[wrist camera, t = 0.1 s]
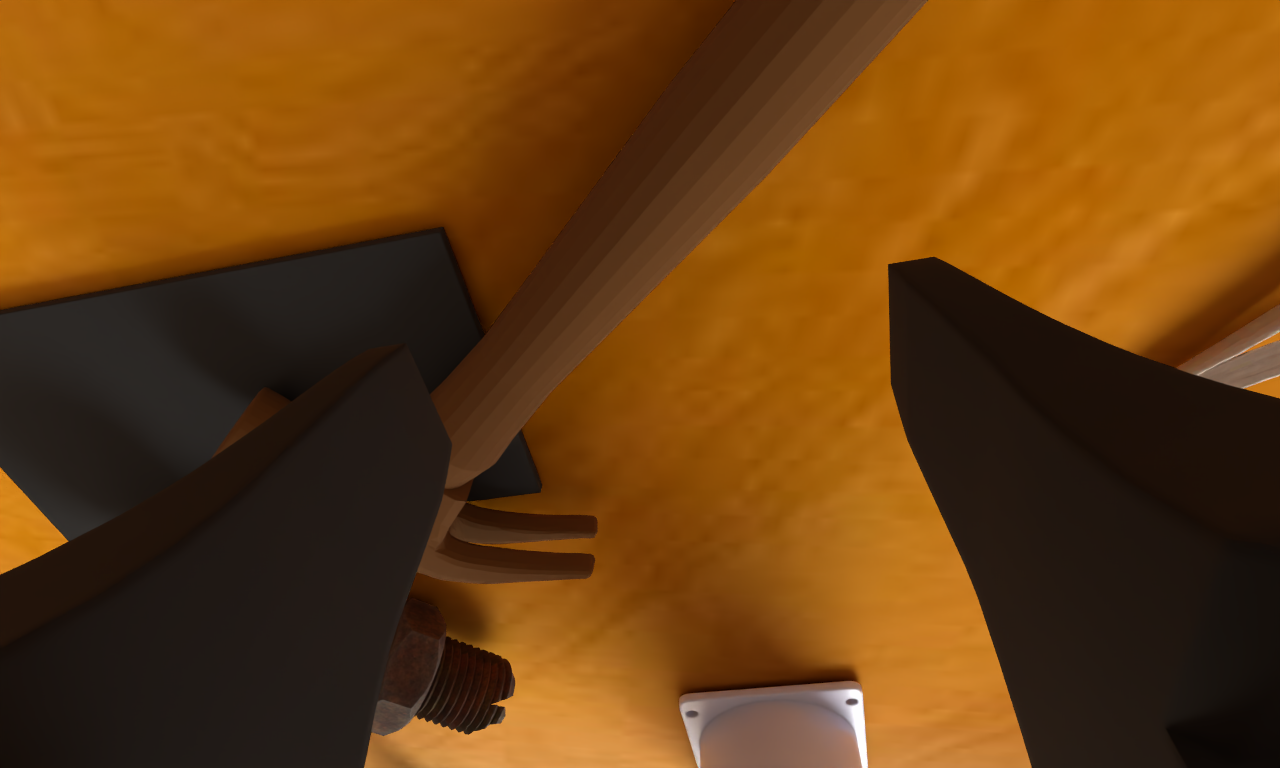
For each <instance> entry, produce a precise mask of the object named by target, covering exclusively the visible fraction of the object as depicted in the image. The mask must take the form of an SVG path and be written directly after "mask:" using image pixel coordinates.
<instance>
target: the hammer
mask: <svg viewBox="0 0 1280 768" xmlns="http://www.w3.org/2000/svg"><path fill="white" fill-rule="evenodd" d="M927 1H928V0H736V2H735V3H734V4H733V5H732V7H731V8H730V9H729V10H728V12H727V13H726V14H725V15H724V17H723V18H722V19H721V20H720V22H719V23H718V24H717V25H716V27H715V28H714V29H713V30H712V32H711V33H710V34H709V35H708V37H707V38H706V39H705V40H704V42H703V43H702V44H701V45H700V47H699V48H698V49H697V50H696V52H695V53H694V54H693V55H692V57H691V58H690V59H689V60H688V62H687V63H686V64H685V65H684V67H683V68H682V69H681V70H680V72H679V73H678V74H677V75H676V77H675V78H674V79H673V80H672V82H671V83H670V84H669V86H668V87H667V88H666V90H665V91H664V92H663V94H662V95H661V97H660V98H659V99H658V101H657V102H656V103H655V105H654V106H653V107H652V109H651V110H650V112H649V113H648V114H647V116H646V117H645V118H644V120H643V121H642V122H641V124H640V125H639V127H638V128H637V129H636V131H635V132H634V133H633V135H632V136H631V137H630V139H629V140H628V142H627V143H626V144H625V146H624V147H623V148H622V150H621V151H620V152H619V154H618V155H617V156H616V158H615V159H614V161H613V162H612V163H611V165H610V166H609V167H608V169H607V170H606V171H605V173H604V174H603V176H602V177H601V178H600V180H599V181H598V182H597V184H596V185H595V186H594V188H593V189H592V191H591V192H590V193H589V195H588V196H587V197H586V199H585V200H584V201H583V203H582V204H581V206H580V207H579V208H578V210H577V211H576V212H575V214H574V215H573V216H572V218H571V219H570V221H569V222H568V223H567V225H566V226H565V227H564V229H563V230H562V231H561V233H560V234H559V236H558V237H557V238H556V240H555V241H554V242H553V244H552V245H551V246H550V248H549V249H548V250H547V252H546V253H545V255H544V256H543V257H542V259H541V260H540V261H539V263H538V264H537V265H536V267H535V268H534V270H533V271H532V272H531V274H530V275H529V276H528V278H527V279H526V280H525V282H524V283H523V285H522V286H521V287H520V289H519V290H518V291H517V293H516V294H515V295H514V297H513V298H512V300H511V301H510V302H509V304H508V305H507V306H506V308H505V309H504V310H503V312H502V313H501V315H500V316H499V317H498V319H497V320H496V321H495V323H494V324H493V325H492V327H491V328H490V330H489V331H488V332H487V334H486V335H485V336H484V337H483V338H482V339H481V340H480V342H479V343H478V344H477V345H476V346H475V347H474V348H473V349H472V350H471V351H470V353H469V354H468V355H467V356H466V357H465V358H464V359H463V360H462V361H461V363H460V364H459V365H458V366H457V367H456V368H455V369H454V370H453V371H452V372H451V374H450V375H449V376H448V377H447V378H446V379H445V380H444V381H443V382H442V383H441V384H440V385H439V386H438V387H437V388H436V389H435V390H434V391H433V392H432V393H431V394H430V396H431V399H432V401H433V403H434V405H435V407H436V410H437V412H438V414H439V416H440V418H441V420H442V423H443V425H444V427H445V429H446V431H447V434H448V436H449V438H450V440H451V442H452V450H451V456H450V462H449V468H448V474H447V479H446V484H445V489H444V493H443V498H442V502H441V505H440V508H439V511H438V514H437V517H436V519H435V522H434V525H433V528H432V531H431V534H430V537H429V540H428V542H427V545H426V548H425V551H424V553H423V556H422V559H421V562H420V565H419V567H418V570H417V572H418V573H421V574H424V575H427V576H430V577H433V578H436V579H440V580H446V581H454V582H464V583H478V584H498V583H512V582H528V581H549V580H567V579H586V578H589V577H590V576H591V574H592V572H593V568H594V563H595V558H594V556H593V555H592V554H583V553H553V552H539V551H526V550H515V549H508V548H500V547H492V546H482V545H476V544H472V543H481V544H508V543H522V542H535V541H548V540H561V539H577V538H594V537H595V535H596V534H597V531H598V527H597V518H596V517H594V516H588V515H543V514H526V513H515V512H507V511H499V510H492V509H486V508H481V507H477V506H474V505H471V504H469V503H466V502H467V498H468V495H469V492H470V489H471V485H472V482H473V479H474V478H475V477H476V476H478V475H479V474H481V473H482V472H484V471H485V470H487V469H488V468H490V467H491V466H493V465H494V464H495V463H496V462H497V461H498V459H499V458H500V456H501V455H502V454H503V452H504V451H505V449H506V448H507V447H508V445H509V444H510V442H511V441H512V440H513V438H514V437H515V436H516V435H517V433H518V432H519V431H520V430H521V428H522V427H523V426H524V425H525V423H526V422H527V421H528V420H529V419H530V417H531V416H532V415H533V414H534V412H535V411H536V410H537V409H538V407H539V406H540V405H541V404H542V403H543V401H544V400H545V399H546V398H547V396H548V395H549V394H550V393H551V392H552V391H553V390H554V389H555V388H556V387H557V386H558V385H559V384H560V383H561V382H562V381H563V380H564V379H565V378H566V377H567V376H568V375H569V374H570V373H571V372H572V371H573V370H574V369H575V368H576V367H577V366H578V365H579V364H580V363H581V362H582V361H583V360H584V359H585V358H586V357H587V356H588V355H589V354H590V353H591V352H592V351H593V350H594V349H595V348H596V347H597V346H598V345H599V344H600V343H601V342H602V341H603V340H604V339H605V338H606V337H607V336H608V335H609V334H610V333H611V332H612V331H613V330H614V328H615V327H616V326H617V325H618V324H619V323H620V322H621V321H622V320H623V319H624V318H625V317H626V316H627V315H628V314H629V313H630V312H631V311H632V310H633V309H634V308H635V307H636V306H637V305H638V304H639V303H640V302H641V301H642V300H643V299H644V298H645V297H646V296H647V295H648V294H649V293H650V292H651V291H652V290H653V289H654V288H655V287H656V286H657V285H658V284H659V283H660V282H661V281H662V280H663V279H664V278H665V277H666V276H667V275H668V274H669V273H670V272H671V271H672V270H673V269H674V268H675V267H676V266H677V265H678V264H679V263H680V262H681V261H682V260H683V259H684V258H685V257H686V256H687V255H688V254H689V253H690V252H691V251H692V250H693V249H694V248H695V247H696V246H697V245H698V244H699V243H700V242H701V241H702V240H703V239H704V238H705V237H706V236H707V235H708V234H709V233H710V232H711V231H712V230H713V229H714V228H715V227H716V226H717V225H718V224H719V223H720V222H721V221H722V220H723V219H724V218H725V217H726V216H727V215H728V214H729V213H730V212H731V211H732V210H733V209H734V208H735V207H736V206H737V205H738V204H739V203H740V202H741V201H742V200H743V199H744V198H745V197H746V196H747V195H748V194H749V193H750V192H751V191H752V190H753V189H754V188H755V187H756V186H757V185H758V184H759V183H760V182H761V181H762V180H763V179H764V178H765V177H766V176H767V175H768V174H769V173H770V172H771V171H772V170H773V168H774V167H775V166H776V165H777V164H778V163H779V162H780V161H781V160H782V159H783V158H784V156H785V155H786V154H787V153H788V152H789V151H790V150H791V149H792V148H793V147H794V146H795V144H796V143H797V142H798V141H799V140H800V139H801V138H802V137H803V136H804V135H805V134H806V133H807V131H808V130H809V129H810V128H811V127H812V126H813V125H814V124H815V123H816V122H817V121H818V119H819V118H820V117H821V116H822V115H823V114H824V113H825V112H826V111H827V110H828V109H829V107H830V106H831V105H832V104H833V103H834V102H835V101H836V100H837V99H838V98H839V97H840V96H841V94H842V93H843V92H844V91H845V90H846V89H847V88H848V87H849V86H850V85H851V84H852V82H853V81H854V80H855V79H856V78H857V77H858V76H859V75H860V74H861V73H862V72H863V71H864V69H865V68H866V67H867V66H868V65H869V64H870V63H871V62H872V61H873V60H874V59H875V57H876V56H877V55H878V54H879V53H880V52H881V51H882V50H883V49H884V48H885V47H886V45H887V44H888V43H889V42H890V41H891V40H892V39H893V38H894V37H895V36H896V35H897V34H898V32H899V31H900V30H901V29H902V28H903V27H904V26H905V25H906V24H907V23H908V22H909V20H910V19H911V18H912V17H913V16H914V15H915V14H916V13H917V12H918V11H919V10H920V8H921V7H922V6H923V5H924V4H925V3H926V2H927ZM290 402H291V401H290V400H288V399H287V398H285V397H284V396H282V395H280V394H278V393H277V392H275V391H273V390H271V389H270V388H267V387H264V388H263V389H262V390H261V391H259V392H258V394H257V395H256V396H255V398H254V399H253V400H252V402H251V403H250V404H249V405H248V407H247V408H246V410H245V411H244V412H243V414H242V415H241V416H240V418H239V419H238V421H237V422H236V423H235V425H234V426H233V428H232V429H231V430H230V432H229V433H228V435H227V436H226V438H225V439H224V440H223V442H222V443H221V445H220V446H219V448H218V449H217V451H216V452H215V454H214V455H213V457H215V456H216V455H217V454H219V453H220V452H222V451H223V450H225V449H226V448H227V447H229V446H230V445H232V444H233V443H235V442H236V441H238V440H239V439H240V438H242V437H243V436H245V435H246V434H248V433H249V432H251V431H252V430H253V429H255V428H256V427H258V426H259V425H261V424H262V423H263V422H265V421H266V420H267V419H269V418H270V417H271V416H273V415H274V414H276V413H277V412H278V411H280V410H281V409H282V408H284V407H285V406H286V405H288V404H289V403H290ZM213 457H212V458H213ZM212 458H211V459H212ZM468 542H471V543H468Z"/></svg>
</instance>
